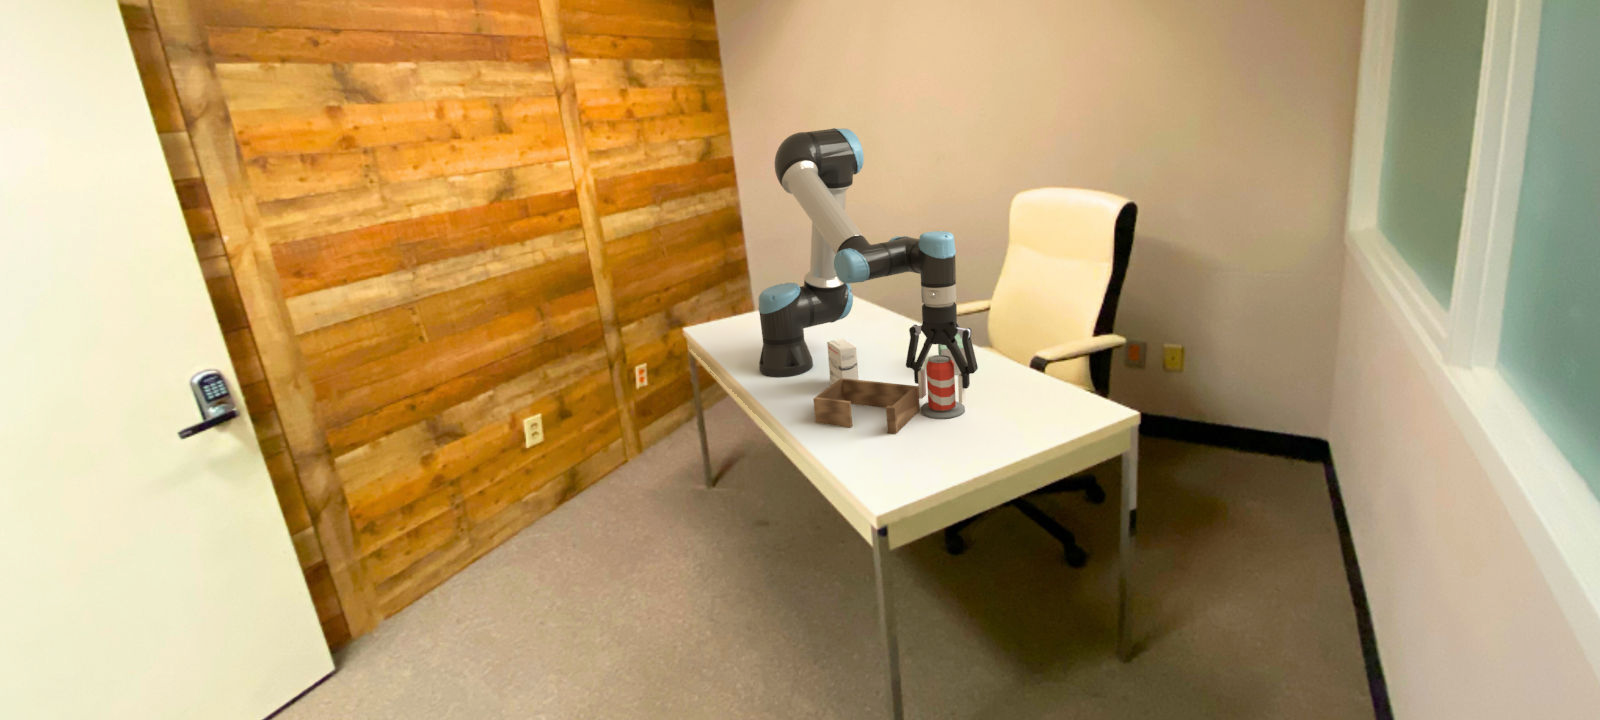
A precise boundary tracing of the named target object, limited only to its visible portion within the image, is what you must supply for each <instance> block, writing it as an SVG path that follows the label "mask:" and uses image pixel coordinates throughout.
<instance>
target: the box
mask: <svg viewBox="0 0 1600 720" xmlns="http://www.w3.org/2000/svg"><path fill="white" fill-rule="evenodd" d="M955 339H956V341H957V345H958V347H959V349H960V351H961V353H962V354H963V356H964V358H965V360H966V356H965V352H964V348H963V343H962V338H960V335H959V334H958V333H957V334H956V336H955ZM937 350H938V355H947V356H950V357H951V360H952V361H953V363H954V376H958V375H959V374H960V373H961V372H960V370H959V368H958V366H957V364H956V362H955V360H954V358H953V356H952V354H951V352H950V350H949V349H948V348H947V346H946V345H941V344H937ZM966 362H967V360H966Z"/></svg>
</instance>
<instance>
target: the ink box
mask: <svg viewBox="0 0 1600 720" xmlns="http://www.w3.org/2000/svg"><path fill="white" fill-rule="evenodd" d="M826 345H827V355H828V356H827V357H828V367H829V368H828V369H829V382H830V386H831V385H832V384H834V383H835V382H837V381H838V380H839V379H841V378H844V379H854V380H860V379H859V370H858V369H859V367H858V355H857V346H856V345H854V344H852V343H850V342H849V341H847V340H846V339H844V338H843V339H837V340H830V341H827V342H826Z"/></svg>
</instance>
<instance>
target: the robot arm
mask: <svg viewBox="0 0 1600 720" xmlns="http://www.w3.org/2000/svg"><path fill="white" fill-rule="evenodd" d="M864 155H865V154H864V149H863V146H862V144H861V141H860V139H859V137H858V136H857V134H856V133H855V132H854V131H853V130H851V129H848V128H836V127H835V128H829V129H827V128H826V129H822V130H819V129H818V130H812V131H801V132H800V131H799V132H797V133H796V132H795V133H793V134H791V135H789V136H788V137H786V138H785V139H784V140H783V141H782V142H781V143H780V145H779V147H778V148H777V151H776V152H775V156H774V171H775V172H774V173H775V175H776V176H775V177H776V178H777V181H778V183H779V184H780V186H781V187H782V189H784V191H785V192H786V193H788V194H791V195H793V197H794V198H795V200H796V201H797V203H799V206H800V207H801V208H802V210H803V211H804V212H805V214H806V215H807V216H808V218H809V219H810V220H811V236H810V237H811V239H810V240H811V241H810V260H809V261H810V263H809V264H810V265H809V268H810V269H809V271H808V272H806V274H805V275H804V277H803V278H804V279H803V285H802V286H800V285H799V284H798V283H795V282H786V283H779V284H774V285H773V286H769V287H767V288H765V289H764V290H762V291H761V293H759V295H758V312H759V320H760V328H761V337H762V348H761V352H760V356H759V363H758V367H759V372H760V373H761V374H762V375H765V376H769V377H774V378H775V377H778V378H779V377H780V378H781V377H783V378H784V377H791V376H797V375H802V374H804V373H806V372H809V371H810V370H812V368H813V367H814V363H813V357H812V355H811V352H810V350H809V347H808V345H807V343H806V341H805V333H804V331H805V330H804V329H806V328H807V329H808V328H811V327H815V326H820V325H824V324H829V323H830V324H831V323H836V322H837V321H839V320H843V319H845V318H847V317H848V315H849V314H850V313H851V311H852V307H853V305H854V294H853V292H852V291H853V288H852V286H851V284H857V283H863V282H864V283H865V282H867V281H869V280H870V281H871V280H874V279H875V280H876V279H880V278H883V277H884V278H885V277H891V276H896V275H900V274H905V273H915V274H920V288H921V289H920V290H921V291H920V293H921V294H920V295H921V296H920V297H921V303H922V305H921V315H922V319H921V320H922V323H921V325H917V324H913V325H912V326H911V327H909V330H908V332H909V337H910V338H909V343H908V348H907V349H908V350H907V355H906V362H905V367H906V368H908V369H911V370H913V375H914V376H913V377H914V384H918V385H917V386H919V400H922V399H923V398H925V396H927V375H926V368H925V367H924V366H923V365H924V363H925V361H926V358H927V357H928V354H929V352H930V350H931V348H932V345H938V344H941V345H946V346H947V348H948V349H949V350H950V352H951V354H952V356H953V358H954V360H955V362H956V364H957V366H958V368H959V370H960V372H961V373H960V374H959V375H957V383H958V385H957V386H958V402H959V403H961V404H963V403H964V402H965V401H966V400H967V395H966V394H967V393H966V392H967V390H966V389H968V388H969V387H970V386H971V385H970V382H971V381H970V380H971V379H970V375H971V374H974V373H976V371H977V370H978V369H979V365H978V362H977V359H976V358H977V357H976V355H975V354H976V353H975V350H974V346H973V342H972V339H971V337H972V328H971V327H967V328H963V327H959V325H958V315H957V313H958V312H957V306H958V305H957V304H956V301H957V283H956V279H957V275H956V274H957V273H956V271H957V269H956V254H957V251H956V243H955V236H954V234H953V233H952V232H950V231H946V230H942V231H939V230H937V231H935V230H934V231H927V232H923V233H921V234H920V236H919V237H918V238H913V237H911V236H907V235H906V236H905V235H904V236H895V237H891V239H889V240H888V241H885V242H879V243H874V244H873V243H872V244H871V243H870V242H869V241H868V240H867V239H866V237H865V236H864V235H863V234H862V232H861V231H860V229H859V228H858V227H857V225H856V224H855V222H854V221H853V220H852V219H851V217H850V216H849V215H848V213H847V212H846V198H847V190H848V189H850V188H851V187H852V186H853V180H854V175H857V174H859V173H860V172H861V171H862V169H863V166H864V163H865V162H864V161H865V158H864V157H865V156H864ZM921 333H922V334H923V335H924V336H925V337H926V338H925V341H924V343H923V345H922V347H921V350H920V352H919V355H918V356H917V351H918V346H919V345H918V344H919V339H920V335H921ZM956 334H959V335H960V338H962V343H963V348H964V352H965V356H966V360H967V362H966V360H965V358H964V356H963V354H962V353H961V351H960V349H959V347H958V345H957V341H956V339H955V336H956ZM916 356H917V359H916Z"/></svg>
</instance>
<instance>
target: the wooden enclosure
mask: <svg viewBox="0 0 1600 720" xmlns="http://www.w3.org/2000/svg"><path fill="white" fill-rule="evenodd" d="M852 405H860V406H865V407H866V406H867V407H873V408H874V407H876V408H882V409H883V408H884V409H885V410H886V411H885V412H886V427H887V434H892V435H893V434H894V435H897V434H898V433H899V432H900V431H901V430H902V429H903V428H904V427H905V426H906V425H907V424H908V423H909V422H910V421H911V420H912V419H913V418H914V417H915V415H917V414H919V412H921V406H920V399H919V386H918V385H911V384H910V385H909V384H900V383H891V382H882V381H872V380H871V381H870V380H865V379H864V380H862V379H861V380H860V379H859V380H854V379H844V378H841V379H839V380H838V381H837V382H835V383H834V384H832V385H831V384H830V386H828V387H827V388H826V389H824V390H822V391H821V392H820V393H819V394H818V395H816V396H815V397H813V410H814V420H815V424H822V425H829V426H836V427H844V428H850V429H851V428H852V427H853V415H852V414H853V413H852Z"/></svg>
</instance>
